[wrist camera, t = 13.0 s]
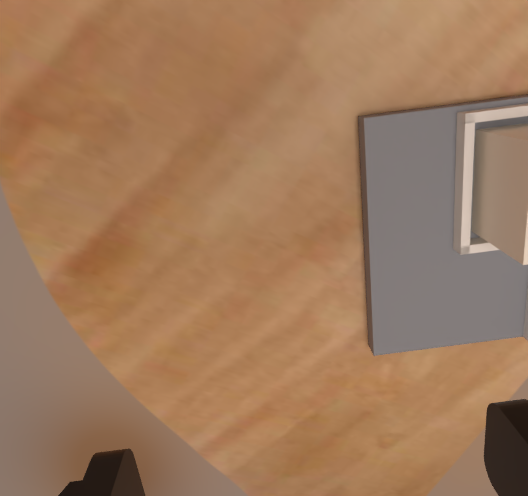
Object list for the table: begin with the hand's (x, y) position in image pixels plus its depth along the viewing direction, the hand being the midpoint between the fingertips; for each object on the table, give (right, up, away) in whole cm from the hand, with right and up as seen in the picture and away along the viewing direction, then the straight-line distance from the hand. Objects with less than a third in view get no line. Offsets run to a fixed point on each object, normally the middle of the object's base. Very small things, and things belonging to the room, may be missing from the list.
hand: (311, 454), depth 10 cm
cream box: (+20, +11, +29) cm, 37 cm away
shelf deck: (+16, +6, +33) cm, 37 cm away
